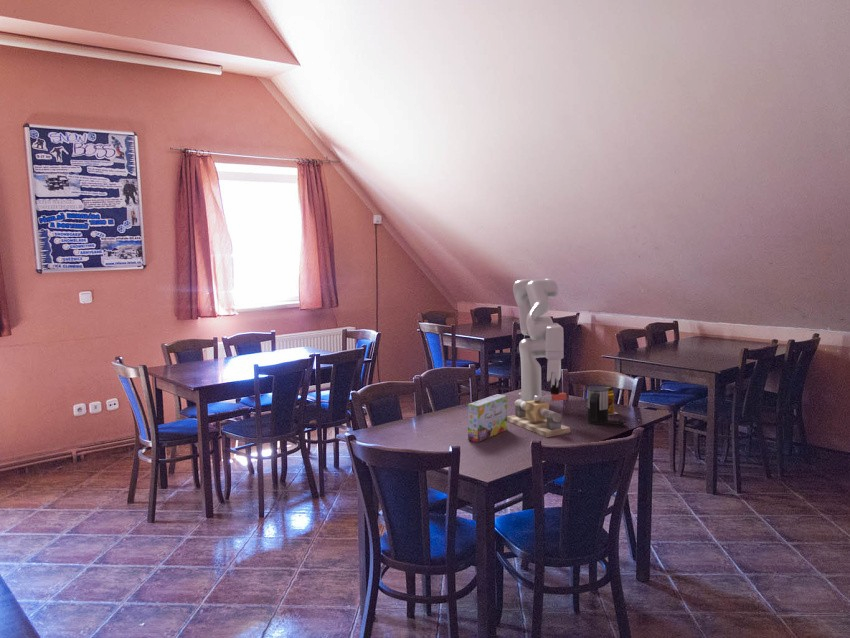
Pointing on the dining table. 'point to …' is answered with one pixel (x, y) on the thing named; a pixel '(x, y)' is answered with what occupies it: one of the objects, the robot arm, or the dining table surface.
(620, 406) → the dining table surface
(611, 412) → the condiment
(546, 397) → the valve lever
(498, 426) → the snack box
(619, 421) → the milk frother
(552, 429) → the valve stand
